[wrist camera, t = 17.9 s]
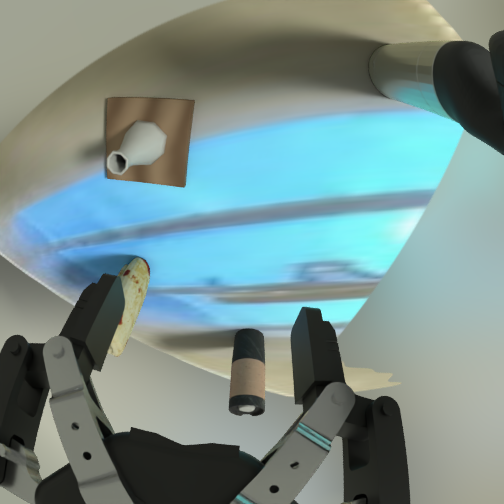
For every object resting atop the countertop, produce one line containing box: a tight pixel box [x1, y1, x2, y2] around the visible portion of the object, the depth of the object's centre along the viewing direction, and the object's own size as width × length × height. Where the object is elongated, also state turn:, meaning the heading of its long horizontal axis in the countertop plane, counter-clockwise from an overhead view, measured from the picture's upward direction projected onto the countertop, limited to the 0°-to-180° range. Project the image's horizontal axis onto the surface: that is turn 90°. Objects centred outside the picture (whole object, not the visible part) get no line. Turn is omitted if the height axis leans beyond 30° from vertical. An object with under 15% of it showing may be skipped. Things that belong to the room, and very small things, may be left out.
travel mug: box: [229, 329, 265, 416], centre depth 59 cm, size 8×8×20 cm
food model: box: [107, 257, 150, 356], centre depth 46 cm, size 10×7×20 cm
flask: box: [106, 120, 167, 175], centre depth 34 cm, size 7×7×10 cm
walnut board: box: [106, 97, 195, 187], centre depth 38 cm, size 14×14×1 cm
